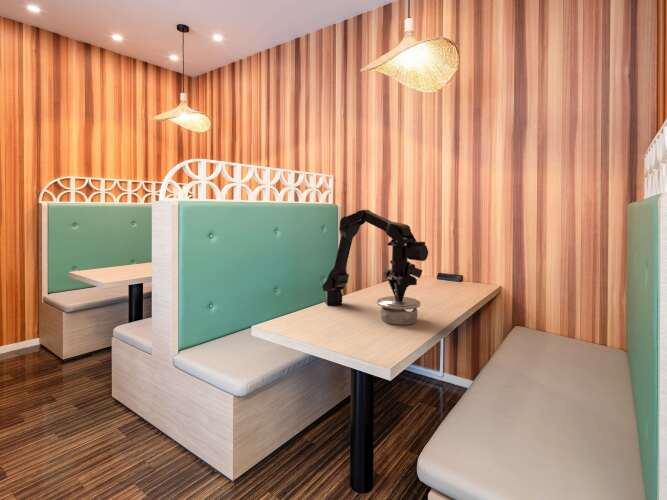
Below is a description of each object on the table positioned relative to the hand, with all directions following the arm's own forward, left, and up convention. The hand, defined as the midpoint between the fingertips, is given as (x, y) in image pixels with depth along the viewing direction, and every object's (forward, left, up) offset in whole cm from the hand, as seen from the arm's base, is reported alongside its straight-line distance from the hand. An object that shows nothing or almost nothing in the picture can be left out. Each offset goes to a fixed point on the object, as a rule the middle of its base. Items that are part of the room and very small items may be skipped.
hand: (398, 299), depth 141 cm
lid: (0, 0, -2) cm, 2 cm away
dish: (0, 0, -8) cm, 8 cm away
